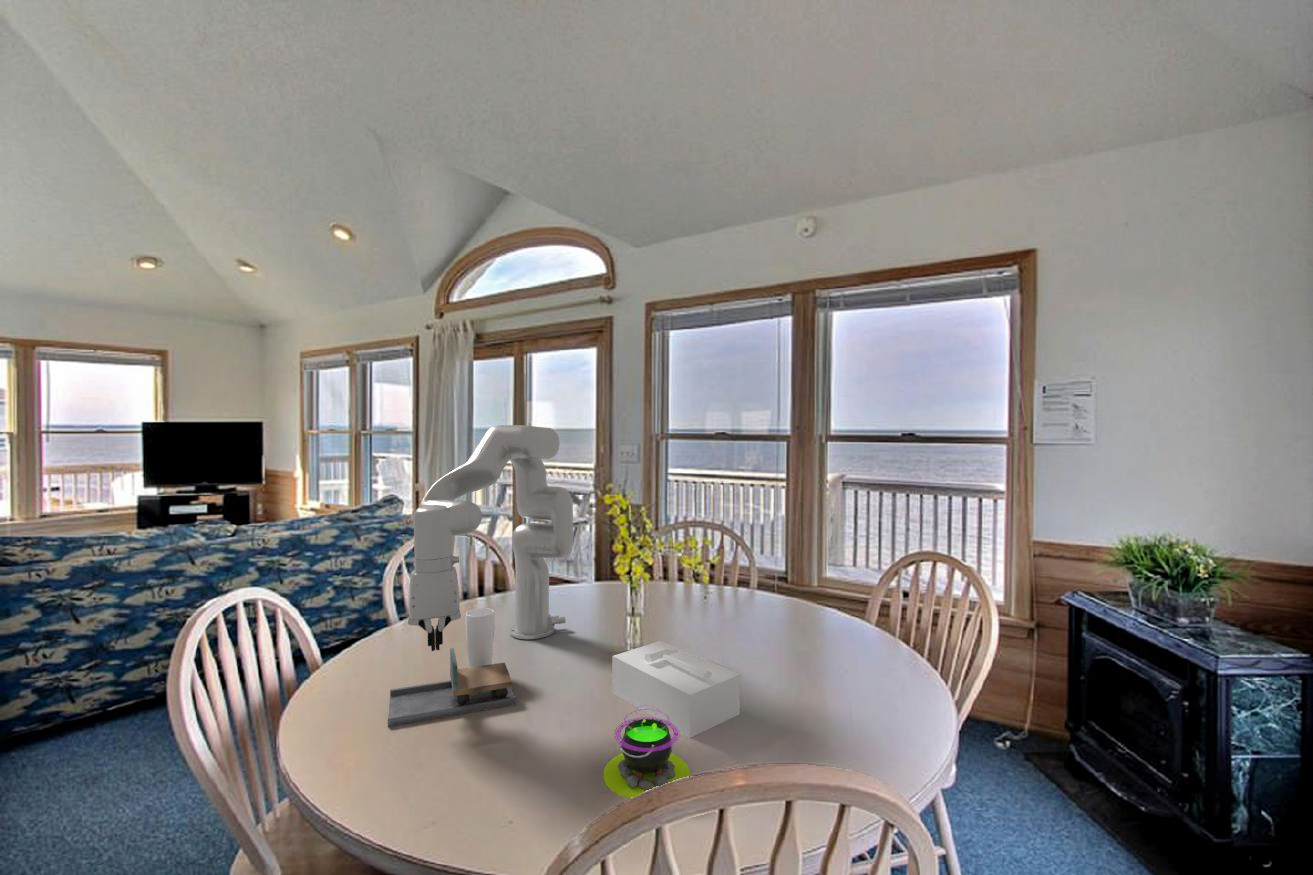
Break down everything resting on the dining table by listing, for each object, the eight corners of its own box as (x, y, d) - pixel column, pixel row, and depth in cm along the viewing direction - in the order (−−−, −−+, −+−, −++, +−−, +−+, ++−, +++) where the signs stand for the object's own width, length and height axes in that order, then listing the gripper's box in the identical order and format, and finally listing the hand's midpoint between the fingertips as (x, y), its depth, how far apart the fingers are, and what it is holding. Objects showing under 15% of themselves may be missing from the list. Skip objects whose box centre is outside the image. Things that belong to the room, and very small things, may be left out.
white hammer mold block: (660, 676, 141) (660, 631, 141) (739, 715, 122) (739, 663, 122) (612, 693, 131) (612, 645, 131) (689, 739, 113) (690, 683, 112)
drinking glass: (498, 668, 144) (498, 608, 144) (488, 680, 137) (488, 617, 137) (472, 667, 145) (472, 607, 144) (460, 679, 138) (460, 615, 138)
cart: (504, 677, 137) (504, 641, 137) (512, 697, 127) (512, 658, 126) (450, 686, 132) (450, 648, 132) (453, 707, 122) (453, 666, 122)
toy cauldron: (597, 755, 107) (597, 695, 106) (676, 745, 110) (677, 687, 110) (610, 807, 92) (610, 738, 92) (701, 794, 96) (702, 727, 95)
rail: (506, 678, 138) (506, 671, 138) (516, 704, 125) (516, 697, 125) (390, 696, 129) (390, 689, 129) (387, 726, 116) (387, 718, 116)
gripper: (468, 556, 132) (469, 636, 132) (395, 563, 126) (397, 647, 127) (471, 564, 125) (473, 649, 126) (395, 572, 119) (397, 661, 120)
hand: (435, 648), depth 126 cm, fingers closed
